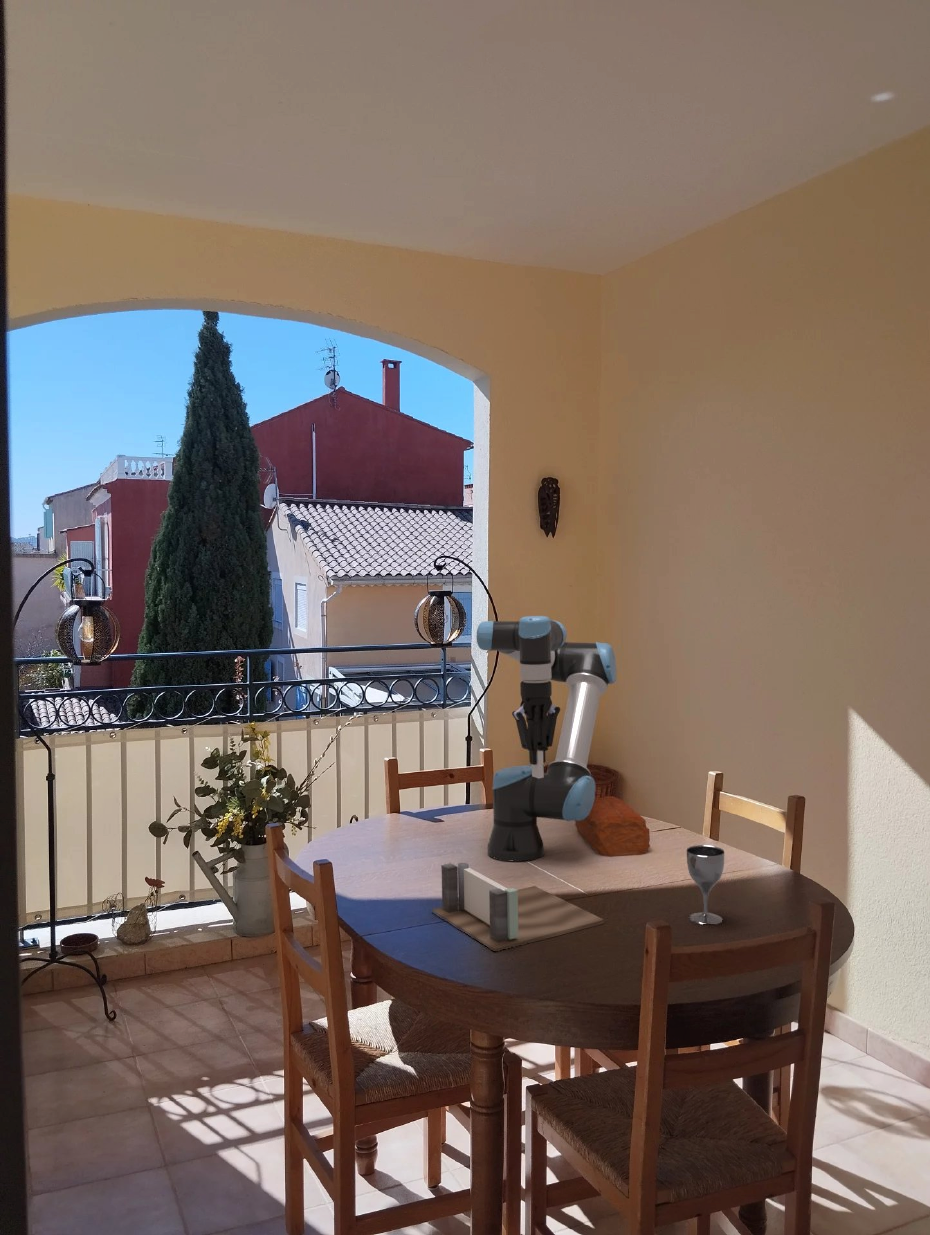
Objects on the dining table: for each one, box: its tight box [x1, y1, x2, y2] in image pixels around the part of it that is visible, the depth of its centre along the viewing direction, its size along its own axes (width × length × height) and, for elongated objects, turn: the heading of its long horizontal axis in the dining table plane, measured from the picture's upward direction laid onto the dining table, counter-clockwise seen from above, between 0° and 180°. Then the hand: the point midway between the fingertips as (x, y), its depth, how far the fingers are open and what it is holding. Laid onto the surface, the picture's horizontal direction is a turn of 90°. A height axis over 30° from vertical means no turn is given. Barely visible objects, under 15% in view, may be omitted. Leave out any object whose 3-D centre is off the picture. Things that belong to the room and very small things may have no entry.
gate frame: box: [431, 862, 605, 952], centre depth 209 cm, size 26×28×11 cm
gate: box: [457, 862, 519, 939], centre depth 204 cm, size 22×2×10 cm, turn 29°
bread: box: [574, 795, 651, 857], centre depth 265 cm, size 16×27×11 cm, turn 8°
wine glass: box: [686, 844, 725, 925], centre depth 206 cm, size 8×8×15 cm
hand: (537, 776), depth 231 cm, fingers closed
